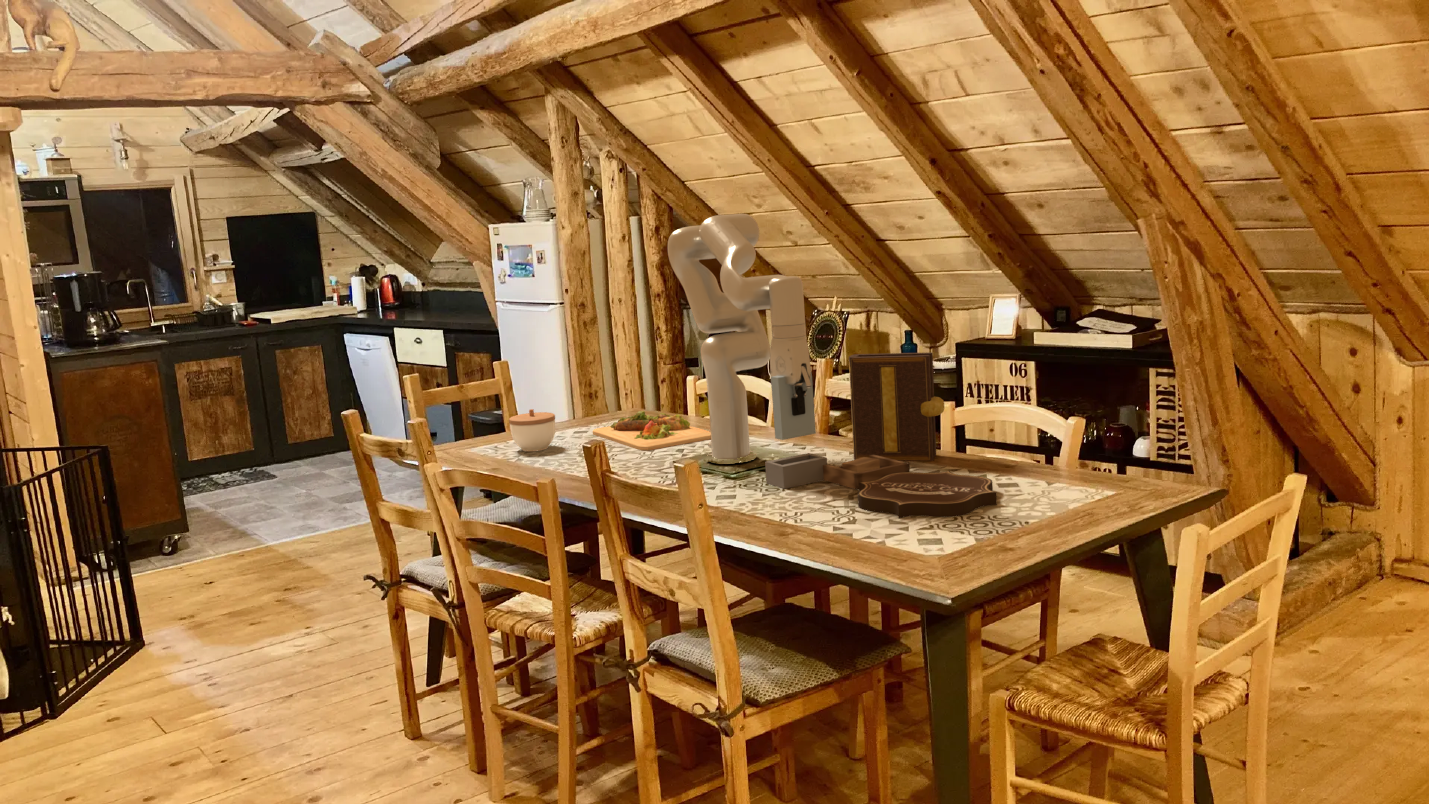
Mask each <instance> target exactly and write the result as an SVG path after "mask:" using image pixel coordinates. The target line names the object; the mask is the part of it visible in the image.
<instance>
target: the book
mask: <svg viewBox="0 0 1429 804" xmlns="http://www.w3.org/2000/svg"><path fill="white" fill-rule="evenodd" d="M933 358H934V356H933V352H893V353H891V352H889V353H888V352H887V353H858V354H857V353H855V354H852V355H850V356H848V366H849V370H848V371H849V387H850V389H849V390H850V405H851V406H850V407H851V408H850V409H851V426H852V427H851V428H852V429H851V430H852V449H853V450H852V451H853V460H855V459H859V458H863V457H868V458H870V457H869V455H877V456H881V457H885V458H890V459H894V460H898V461H902V462H906V461H907V462H909V461H910V462H912V461H913V462H932V461H934V457H937V444H936V443H937V439H936V438H937V437H936V417H937V416H940V415H941V414H943V413H944V411H945V401H944V399H942V398H941V397H939V396H935V387H934V384H935V383H934V362H933V361H934V359H933Z"/></svg>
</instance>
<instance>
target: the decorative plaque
mask: <svg viewBox="0 0 1429 804" xmlns="http://www.w3.org/2000/svg"><path fill="white" fill-rule="evenodd" d="M997 500H998V499H997V491H993V480H992V479H991V478H988V477H985V476H979V475H968V474H959V473H958V474H957V473H953V472H951V470H948V471H942V472H917V471H916V472H915V471H914V472H913V471H910V472H901V473H893V474H889V475H886V476H884V477H882V478H880V479H877V480H874V481H869V482H859V490H858V492H857V505H858V508H859V509H861V510H863V511H866V510H867V512H872V513H873V512H874V513H880V514H881V513H882V514H883V513H884V514H890V515H893V516H894V515H895V516H897V517H898V519H901V518H907V517H908V518H909V517H931V518H932V517H933V518H953V517H961V516H965V515H969V514H970V513H972V512H974V511H975V510H977V509H979V508H982V507H987V506H997V505H998V503H997Z"/></svg>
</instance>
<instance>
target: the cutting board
mask: <svg viewBox="0 0 1429 804" xmlns="http://www.w3.org/2000/svg"><path fill="white" fill-rule="evenodd" d="M592 435H593V436H597V437H599V438H601V439H605V440H608V441H611V442H614V443H616V444H620V445H623V446H625V447H629V448H631V449H635V450H638V451H651V450H658V449H663V448H668V447H674V446H680V445H685V444H691V443H696V442H703V441H709V440H711V431H709V430H705V429H703V428H698V427H696V426H691V423H690V422H689V421H688V420H687V419H684V417H683V416H682V415H681V414H679V413H676V414H675V415H670V414H667V413H663V412H660V413H659V414H657V415H656V416H652V415H648V414H646V410H642V411H641V410H640V411H637V412H636V413H635V414H634V415H631V416H628V417H620V418H619V419H618V420H617V422H616V421H614V422H613V423H612V424H610V425H609V426H604V427H597V428H594V429H593V430H592Z"/></svg>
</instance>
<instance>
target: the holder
mask: <svg viewBox="0 0 1429 804" xmlns="http://www.w3.org/2000/svg"><path fill="white" fill-rule="evenodd" d="M764 463H765V466H764V467H765V468H764V469H765V480H766V484H768V485H771V486H774V487H777V488H781V489H789V488H790V489H791V488H794V487H799V486H803V485H804V486H805V485H807V484H812V483H813V484H814V483H817V482H821V481H825V480H824V476H823V465H826V464H828V458H827V457H825V456H822V455H818V454H813V453H809V452H807V453H806V452H805V453H802V454H797V455H793V456H788V457H783V458H777V459H773V460H767V461H765V462H764Z"/></svg>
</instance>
